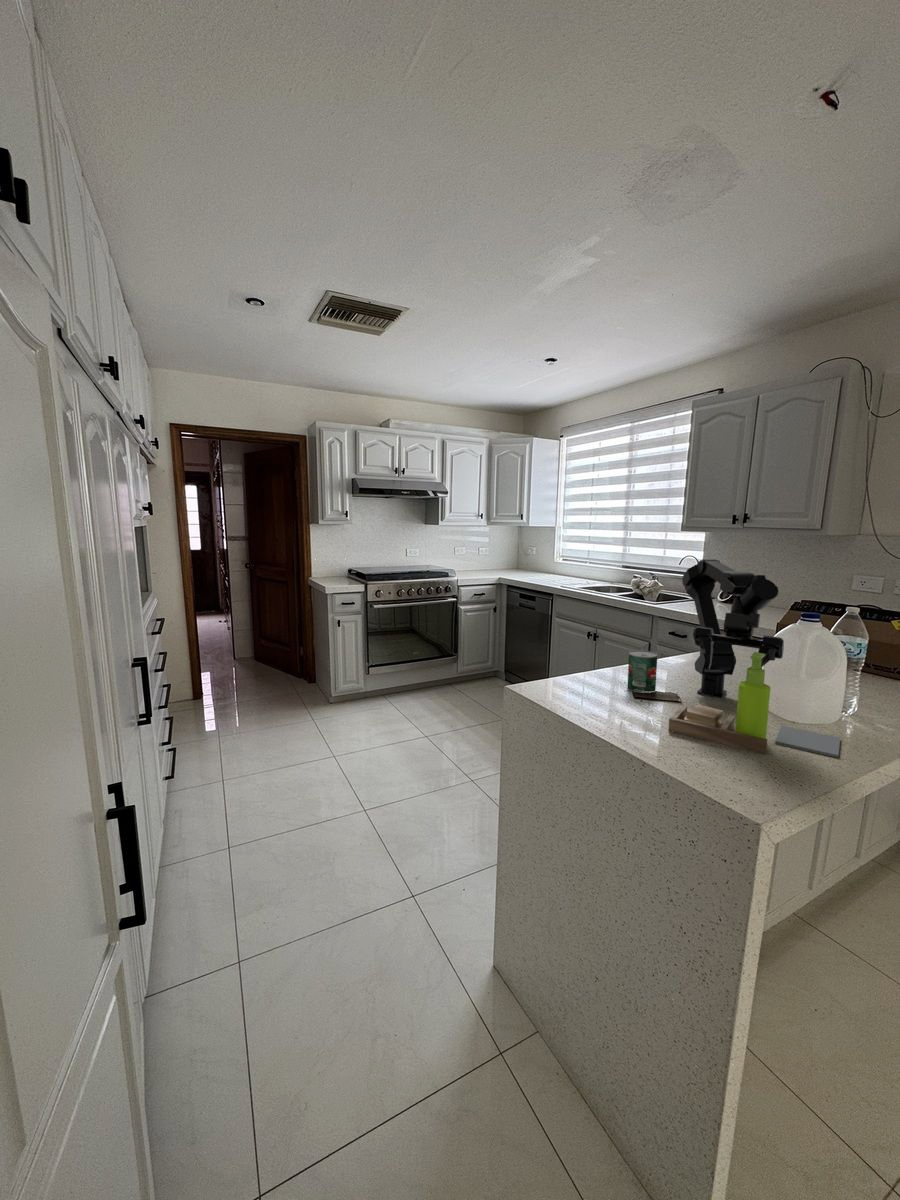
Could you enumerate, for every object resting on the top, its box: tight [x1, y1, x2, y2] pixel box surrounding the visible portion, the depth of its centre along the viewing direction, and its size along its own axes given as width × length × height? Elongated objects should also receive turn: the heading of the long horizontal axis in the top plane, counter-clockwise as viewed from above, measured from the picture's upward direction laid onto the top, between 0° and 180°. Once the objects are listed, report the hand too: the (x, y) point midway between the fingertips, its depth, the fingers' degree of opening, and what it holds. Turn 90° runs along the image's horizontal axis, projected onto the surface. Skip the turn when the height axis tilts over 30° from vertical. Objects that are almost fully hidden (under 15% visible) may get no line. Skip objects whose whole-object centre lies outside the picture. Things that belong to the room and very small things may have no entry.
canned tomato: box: [626, 649, 658, 692], centre depth 144 cm, size 8×8×11 cm
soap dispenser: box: [734, 651, 771, 739], centre depth 109 cm, size 6×7×20 cm
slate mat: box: [774, 725, 841, 759], centre depth 109 cm, size 11×11×1 cm
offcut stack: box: [684, 704, 724, 728], centre depth 116 cm, size 8×7×4 cm
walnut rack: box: [668, 705, 768, 755], centre depth 113 cm, size 11×20×3 cm, turn 50°
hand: (729, 672), depth 115 cm, fingers open, 9 cm apart
